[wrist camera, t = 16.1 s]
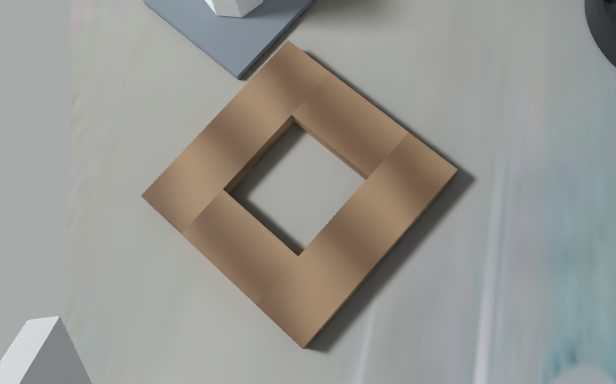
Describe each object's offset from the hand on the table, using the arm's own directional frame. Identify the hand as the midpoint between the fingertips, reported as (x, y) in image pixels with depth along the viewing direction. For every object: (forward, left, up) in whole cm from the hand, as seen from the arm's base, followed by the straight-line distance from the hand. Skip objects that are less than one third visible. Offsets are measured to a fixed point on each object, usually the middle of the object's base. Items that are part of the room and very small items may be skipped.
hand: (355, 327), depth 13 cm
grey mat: (-14, -26, -27) cm, 40 cm away
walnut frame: (-5, -11, -27) cm, 30 cm away
